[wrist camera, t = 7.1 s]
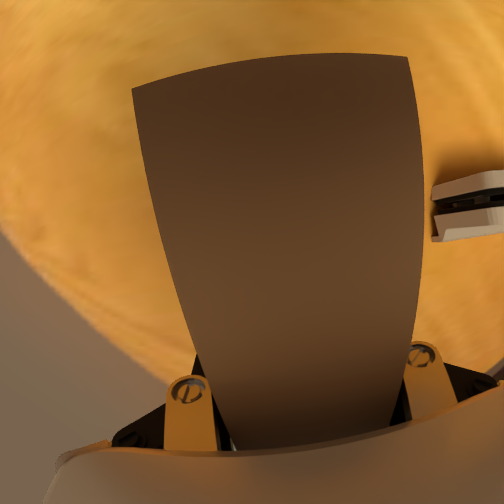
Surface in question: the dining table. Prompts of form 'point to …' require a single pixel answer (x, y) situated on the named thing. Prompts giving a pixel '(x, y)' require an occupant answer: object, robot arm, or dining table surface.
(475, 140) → the dining table surface
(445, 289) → the dining table surface
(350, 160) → the brown wooden block
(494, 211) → the grey layered block
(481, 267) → the dining table surface
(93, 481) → the robot arm
